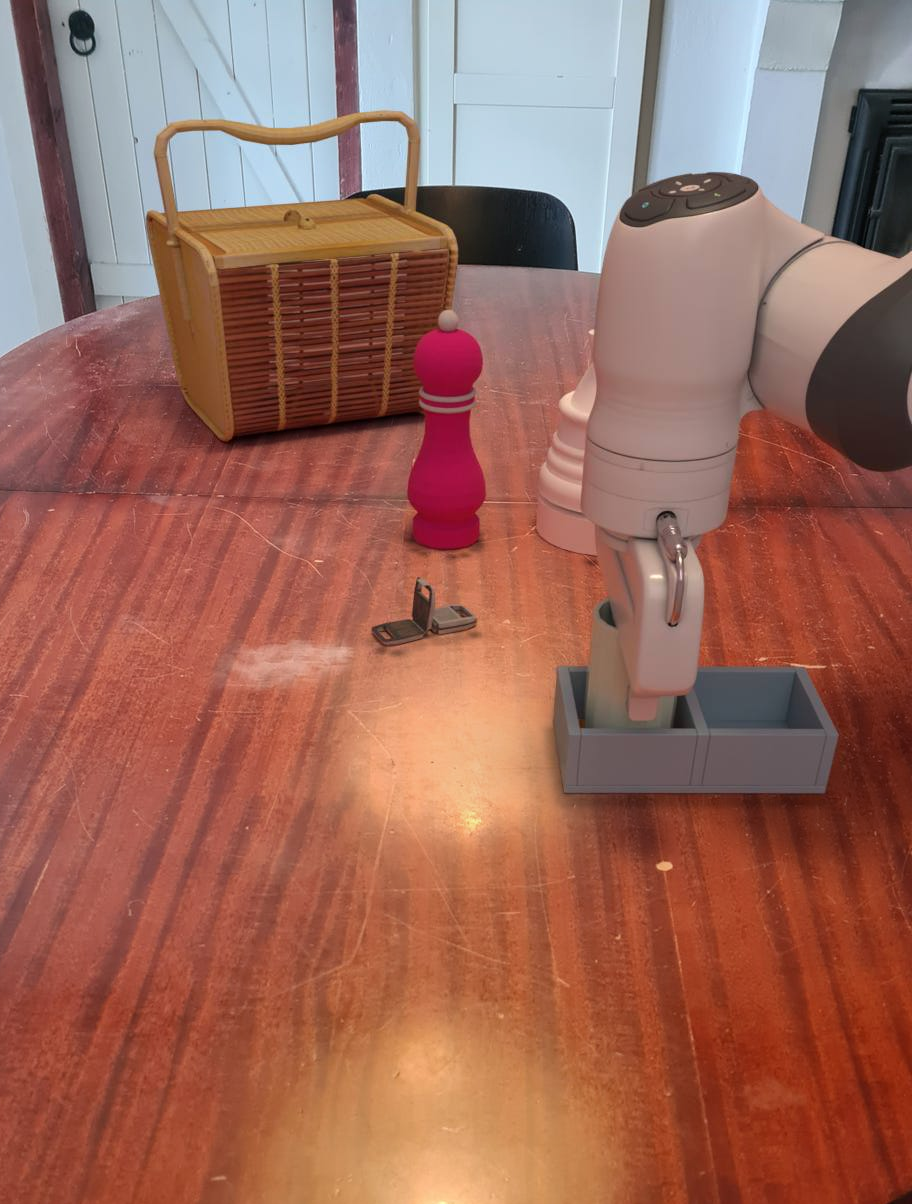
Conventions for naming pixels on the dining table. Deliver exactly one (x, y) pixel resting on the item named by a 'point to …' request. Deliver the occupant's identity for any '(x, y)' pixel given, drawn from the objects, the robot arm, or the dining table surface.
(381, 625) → the strap clip
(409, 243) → the picnic basket
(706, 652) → the dining table surface
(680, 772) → the holder
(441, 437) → the pepper mill
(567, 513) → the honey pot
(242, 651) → the dining table surface
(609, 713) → the cup
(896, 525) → the dining table surface
